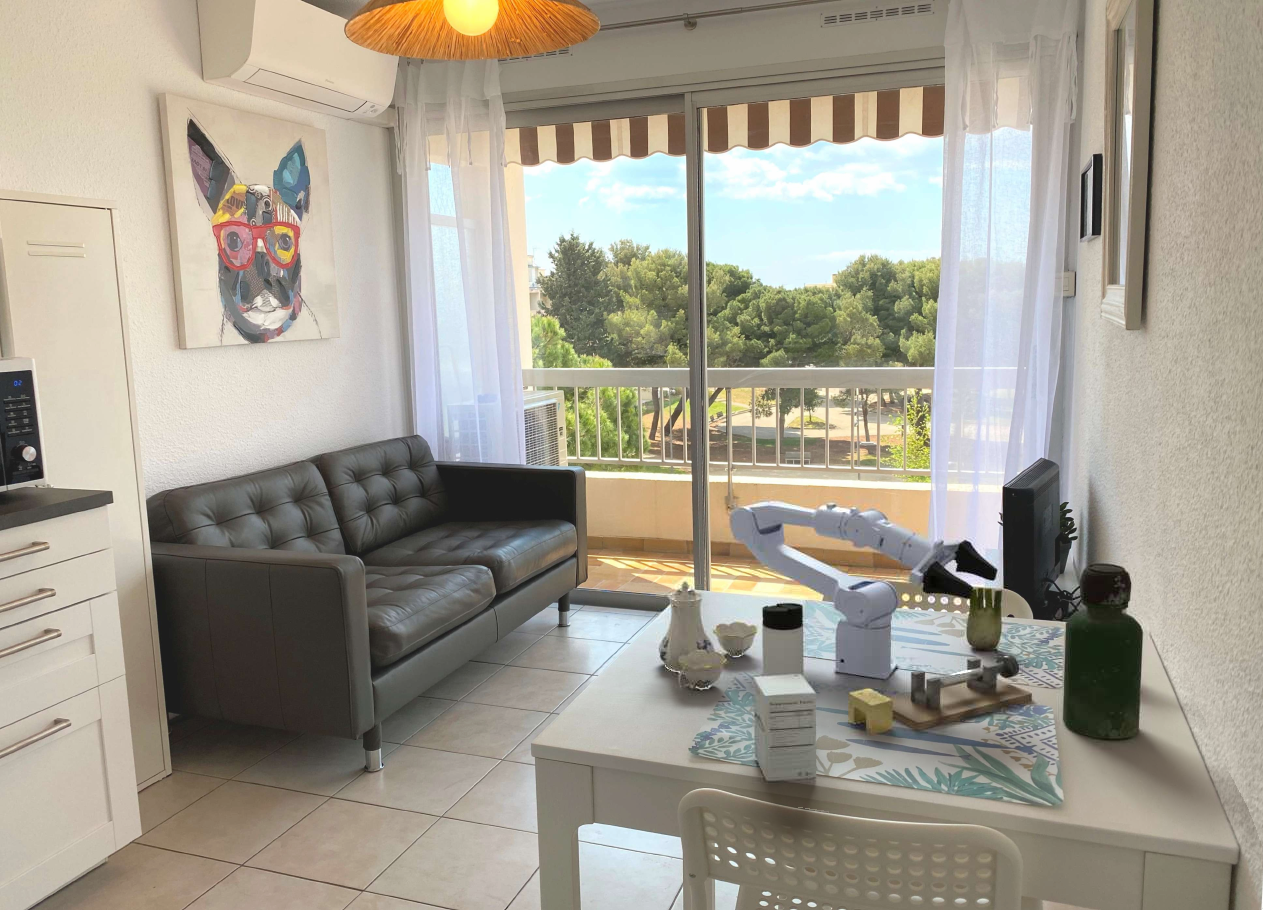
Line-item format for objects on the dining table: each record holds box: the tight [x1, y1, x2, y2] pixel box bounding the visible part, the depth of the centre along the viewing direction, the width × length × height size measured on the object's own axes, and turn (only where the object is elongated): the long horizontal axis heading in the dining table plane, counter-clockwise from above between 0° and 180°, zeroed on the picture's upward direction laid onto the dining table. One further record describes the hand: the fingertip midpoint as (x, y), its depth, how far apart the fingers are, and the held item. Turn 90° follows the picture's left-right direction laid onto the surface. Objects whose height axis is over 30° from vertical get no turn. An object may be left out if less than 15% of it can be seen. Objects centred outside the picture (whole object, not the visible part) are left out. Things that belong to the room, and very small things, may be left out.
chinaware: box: [658, 581, 759, 690], centre depth 175 cm, size 28×17×17 cm, turn 160°
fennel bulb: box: [965, 586, 1003, 651], centre depth 181 cm, size 6×5×12 cm
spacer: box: [848, 687, 894, 736], centre depth 148 cm, size 4×6×5 cm
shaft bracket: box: [888, 657, 1033, 731], centre depth 155 cm, size 24×10×6 cm, turn 115°
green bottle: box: [1062, 563, 1144, 740], centre depth 144 cm, size 10×10×25 cm
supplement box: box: [753, 674, 817, 782], centre depth 134 cm, size 7×7×13 cm
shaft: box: [937, 654, 1020, 688], centre depth 157 cm, size 16×4×4 cm, turn 115°
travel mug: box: [761, 602, 805, 678], centre depth 148 cm, size 6×7×20 cm
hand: (983, 584), depth 154 cm, fingers open, 7 cm apart
